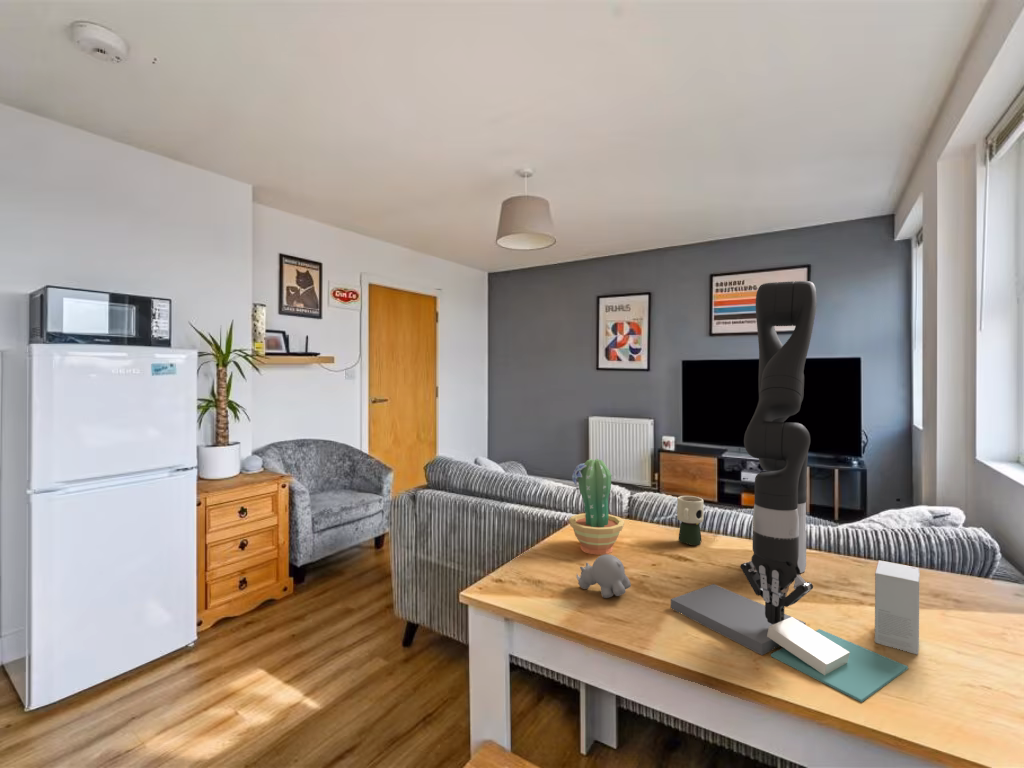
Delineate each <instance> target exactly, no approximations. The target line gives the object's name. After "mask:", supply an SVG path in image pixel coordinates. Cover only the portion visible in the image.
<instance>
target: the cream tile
mask: <svg viewBox="0 0 1024 768" xmlns="http://www.w3.org/2000/svg"><path fill="white" fill-rule="evenodd" d="M797 619H798V618H796V619H795V617H793V616H791V617H790V618H788V619H785V620H783V621H781V622H778V623H776V624H773V625H771V626H769V628H768V634H767V637H769V638H770V639H772V640H773V641H774V642H776V643H777V644H779V645H780V646H779V647H781V648H785V649H786V650H788V651H789V652H791V653H792V654H794V655H795V656H797V657H798V658H800V659H801V660H802V661H804V662H805V663H807V664H808V665H810V666H811V667H813V668H814V669H816V670H817V671H819V672H820V673H822V674H823V675H826V674H828V673H830V672H831V671H833V670H835V669H837V668H839V667H840V666H842V665H844V664H846V663H847V662H848V658H849V654H850V652H849V651H847V650H845V649H844V648H842V647H841V646H839V645H837V644H836V643H834V642H832V641H831V640H829V639H828V638H826V637H824V636H823V635H821V634H819V633H818V632H816V631H817V630H814V629H813V628H811V627H809V626H808V625H807V624H806V625H805V624H803V623H801V622H800V621H798V620H799V619H798V620H797Z"/></svg>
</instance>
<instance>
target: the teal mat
mask: <svg viewBox="0 0 1024 768" xmlns="http://www.w3.org/2000/svg"><path fill="white" fill-rule="evenodd" d="M815 631H816V632H818V633H819V634H821V635H823V636H824V637H826V638H828V639H829V640H831V641H832V642H834V643H836V644H837V645H839V646H841V647H842V648H844V649H845V650H847V651H849V652H850V654H849V658H848V662H847V663H846V664H844V665H842V666H840V667H839V668H837V669H835V670H833V671H831V672H830V673H828V674H826V675H823V674H822V673H820V672H819V671H817V670H816V669H814V668H813V667H811V666H810V665H808V664H807V663H805V662H804V661H802V660H801V659H800V658H798V657H797V656H795V655H794V654H792V653H791V652H789V651H788V650H786V649H785V648H783V647H781V648H780V649H778V650H776V651H774V652H773V653H770V657H772V658H773V659H775V660H777V661H779V662H781V663H783V664H786V665H787V666H789V667H791V668H793V669H795V670H797V671H798V672H800V673H803V674H804V675H807V676H809V677H811V678H813V679H815V680H817V681H819V682H821V683H823V684H825V685H826V686H829V687H831V688H832V689H834V690H836V691H838V692H840V693H842V694H844V695H846V696H848V697H850V698H851V699H854V700H856V701H858V702H860V703H863V702H864V701H866V700H867V699H868V698H870V697H871V696H873V695H874V694H875V693H876V692H878V691H880V690H881V689H882V688H884V687H885V686H887V684H889V683H890V682H892V681H893V680H895V679H896V678H898V677H899V676H900V675H901V674H903V673H904V672H906V671H907V670H908V669H909V666H908V665H906V664H904V663H902V662H898V661H896V660H893V659H891V658H889V657H887V656H884V655H882V654H879V653H877V652H875V651H872V650H870V649H868V648H865V647H863V646H861V645H859V644H856V643H854V642H851V641H849V640H846V639H844V638H842V637H840V636H838V635H835V634H832V633H830V632H828V631H825V630H822V629H820V628H819V629H816V630H815Z"/></svg>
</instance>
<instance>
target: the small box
mask: <svg viewBox="0 0 1024 768" xmlns="http://www.w3.org/2000/svg"><path fill="white" fill-rule="evenodd" d="M920 575H921V574H920V568H919V567H916V566H911V565H910V566H909V565H905V564H902V563H896V562H890V561H884V560H880V559H879V560H877V565H876V567H875V572H874V643H875V644H878V645H881V646H885V647H889V648H892V647H893V649H896V648H897V649H896V650H899V649H900V650H899V651H902V650H903V652H906V651H907V653H910V654H914V655H919V649H920V647H919V646H920Z"/></svg>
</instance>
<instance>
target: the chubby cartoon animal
mask: <svg viewBox="0 0 1024 768" xmlns="http://www.w3.org/2000/svg"><path fill="white" fill-rule="evenodd" d="M579 568H580V575H579V574H578V573H576V579H577V582H578V586H579V587H580V588H581V589H582V590H588V589H589V588H590V586H595V585H596V584H597V585H598V586H599V587H600V594H601V597H602V598H603V599H608V598H609V599H610V598H612V597H613V596H615V597H619V596H623V595H624V594H625V593H626V591H627V590H628V589H630V588H631V586H632V584H631V580H630V579H629V577H628V576H627V575H626V571H625V566H624V564H623V562H622V561H621V560H620V559H619V558H618V557H617V556H615V555H613V554H610V553H608V554H601V555H600V556H598V557H597V558H596V559H595V560H594V562H593V563H592V565H590V564H589V562H586V563H585V566H584V567H583V566H579Z"/></svg>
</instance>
